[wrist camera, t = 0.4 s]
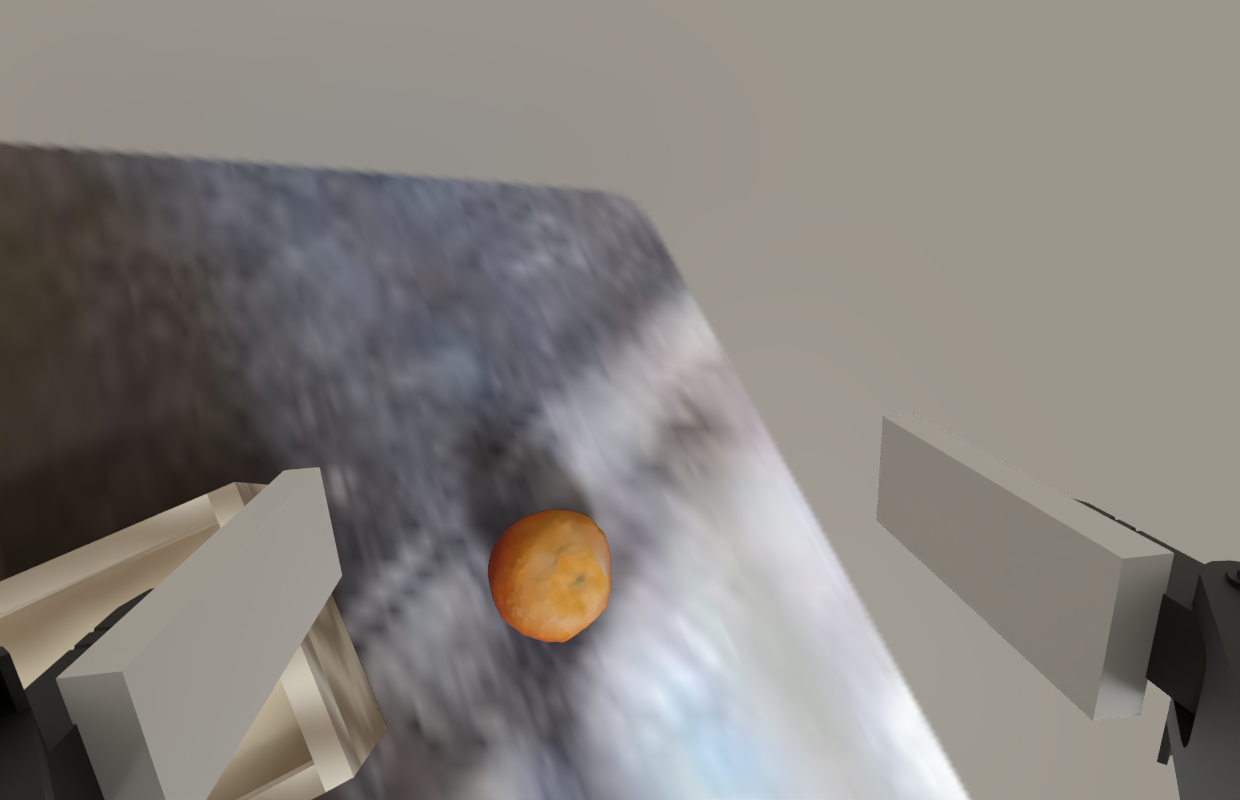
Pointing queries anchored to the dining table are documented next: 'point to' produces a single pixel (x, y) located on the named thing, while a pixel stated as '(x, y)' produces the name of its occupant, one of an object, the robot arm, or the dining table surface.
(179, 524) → the square tray
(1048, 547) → the robot arm
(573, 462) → the dining table surface
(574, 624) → the fruit
